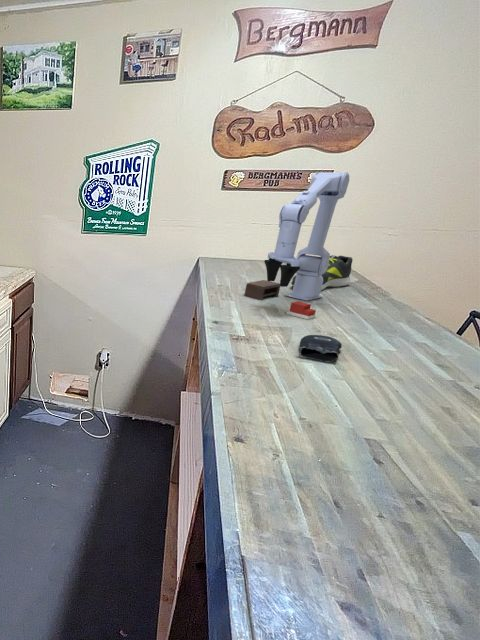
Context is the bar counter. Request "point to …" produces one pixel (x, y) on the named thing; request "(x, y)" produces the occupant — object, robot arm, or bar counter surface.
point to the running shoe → (336, 272)
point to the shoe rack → (262, 289)
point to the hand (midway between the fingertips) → (277, 283)
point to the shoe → (301, 310)
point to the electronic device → (319, 348)
